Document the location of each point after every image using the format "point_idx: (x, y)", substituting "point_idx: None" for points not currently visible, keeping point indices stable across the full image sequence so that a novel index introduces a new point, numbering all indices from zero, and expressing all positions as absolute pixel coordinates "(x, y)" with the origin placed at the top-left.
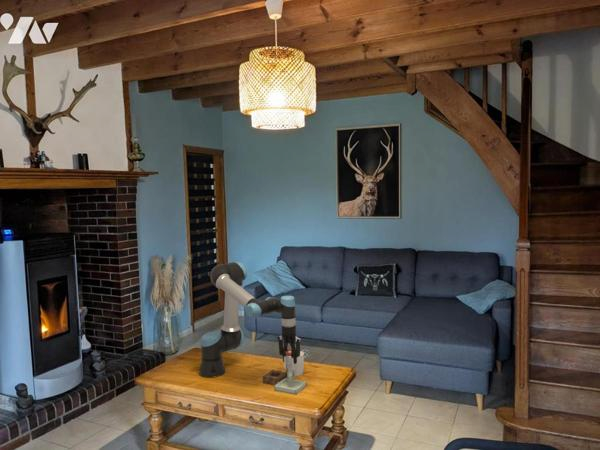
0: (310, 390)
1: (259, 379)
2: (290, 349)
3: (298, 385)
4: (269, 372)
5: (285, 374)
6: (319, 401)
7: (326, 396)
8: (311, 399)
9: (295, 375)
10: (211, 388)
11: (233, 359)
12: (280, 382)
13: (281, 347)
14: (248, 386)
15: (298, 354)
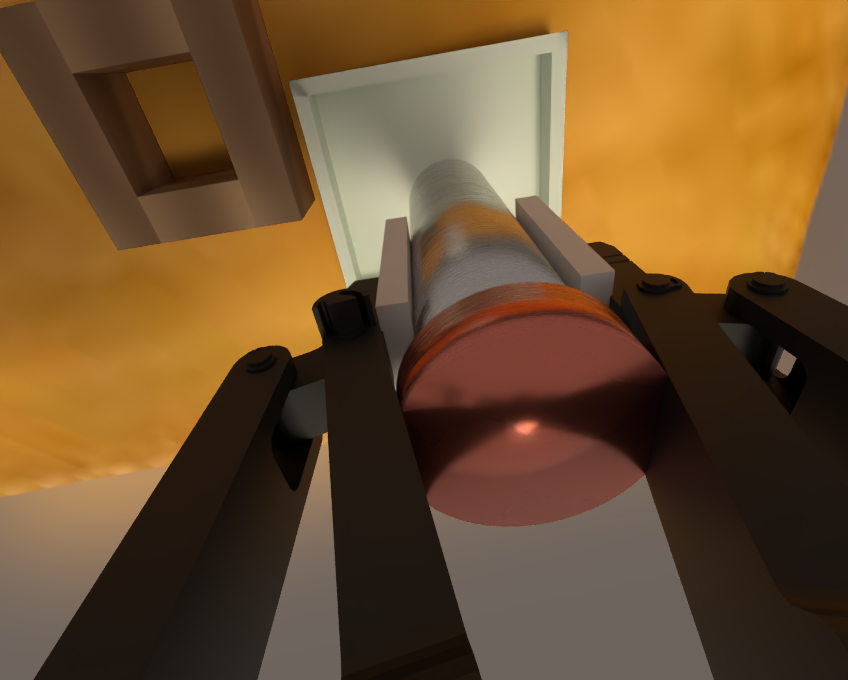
0: (626, 105)
1: (40, 173)
2: (509, 375)
3: (485, 103)
4: (53, 118)
5: (245, 36)
6: (758, 248)
7: (805, 137)
8: (689, 253)
9: None
10: (17, 461)
11: None
12: (340, 219)
13: (271, 570)
14: (139, 332)
15: (801, 382)
